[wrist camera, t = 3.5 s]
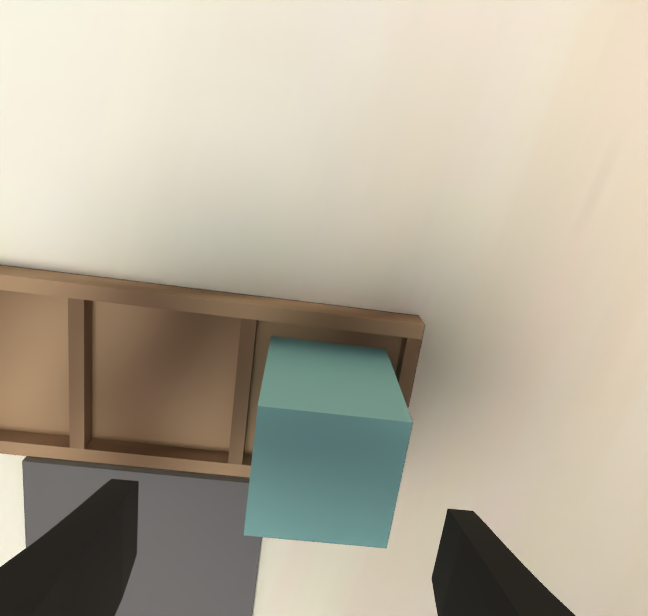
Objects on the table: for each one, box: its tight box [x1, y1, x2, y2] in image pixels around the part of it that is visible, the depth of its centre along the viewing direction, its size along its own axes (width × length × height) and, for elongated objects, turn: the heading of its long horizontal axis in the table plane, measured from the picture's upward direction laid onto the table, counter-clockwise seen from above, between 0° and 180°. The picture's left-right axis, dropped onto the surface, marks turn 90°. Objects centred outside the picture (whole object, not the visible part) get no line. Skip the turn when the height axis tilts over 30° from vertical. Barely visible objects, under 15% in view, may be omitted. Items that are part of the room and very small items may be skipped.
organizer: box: [0, 265, 425, 478], centre depth 18 cm, size 17×6×1 cm, turn 82°
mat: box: [22, 457, 261, 616], centre depth 21 cm, size 9×9×1 cm
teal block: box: [244, 336, 413, 548], centre depth 16 cm, size 4×4×5 cm
